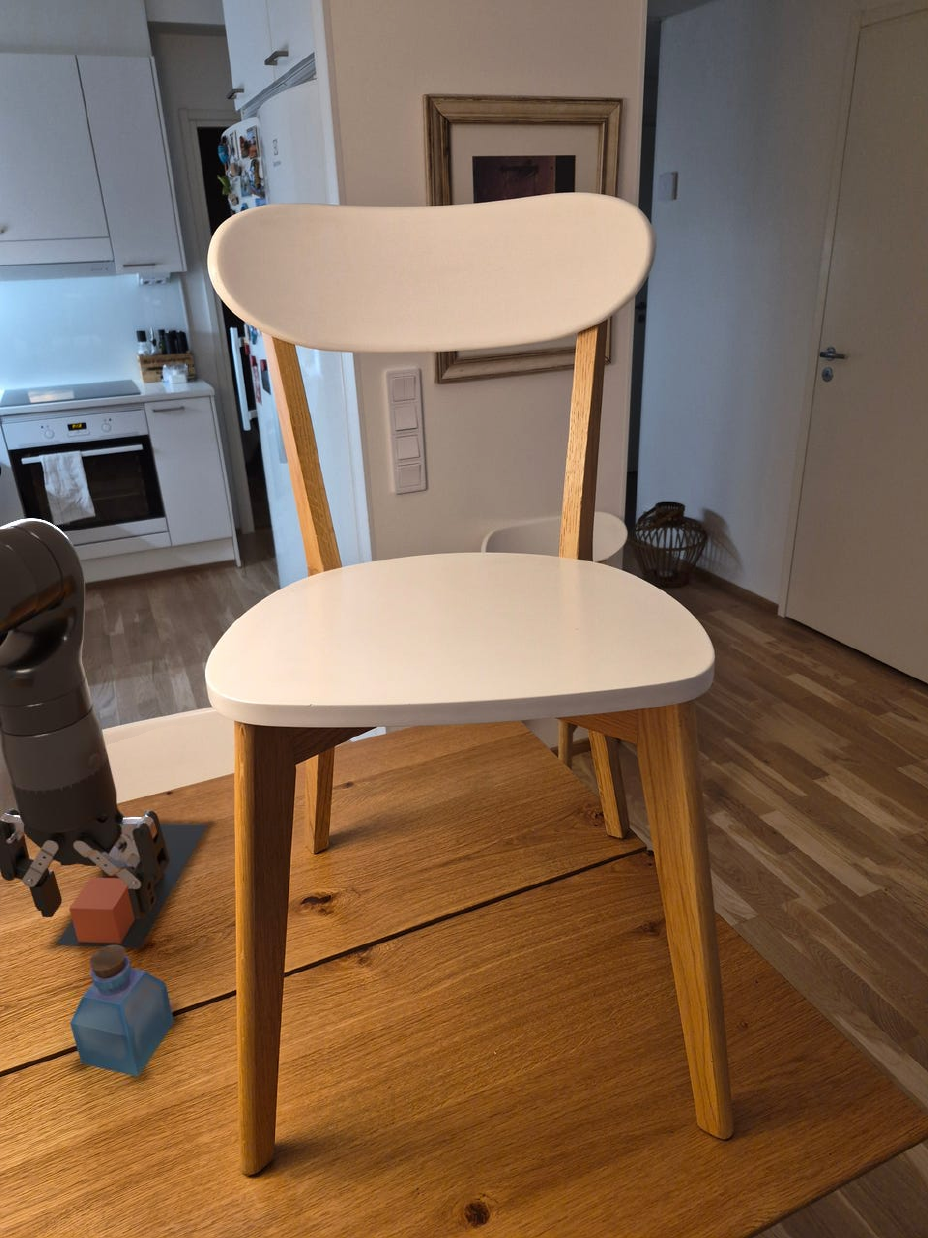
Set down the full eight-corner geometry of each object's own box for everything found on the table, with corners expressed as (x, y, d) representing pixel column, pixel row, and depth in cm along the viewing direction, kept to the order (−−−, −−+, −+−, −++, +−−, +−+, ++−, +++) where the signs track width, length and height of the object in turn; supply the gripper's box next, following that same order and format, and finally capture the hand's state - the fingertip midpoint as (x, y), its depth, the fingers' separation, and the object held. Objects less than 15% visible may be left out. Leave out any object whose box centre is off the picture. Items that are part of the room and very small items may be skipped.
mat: (56, 950, 94) (45, 911, 91) (137, 827, 114) (130, 793, 111) (141, 953, 93) (132, 914, 91) (208, 829, 113) (202, 794, 111)
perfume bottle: (83, 1069, 80) (56, 977, 75) (121, 1016, 85) (99, 928, 80) (139, 1082, 78) (116, 989, 74) (175, 1028, 84) (155, 938, 79)
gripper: (159, 737, 71) (189, 884, 78) (1, 736, 72) (44, 881, 79) (122, 788, 65) (158, 945, 71) (-53, 786, 65) (-1, 941, 72)
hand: (98, 911), depth 75 cm, fingers open, 8 cm apart
